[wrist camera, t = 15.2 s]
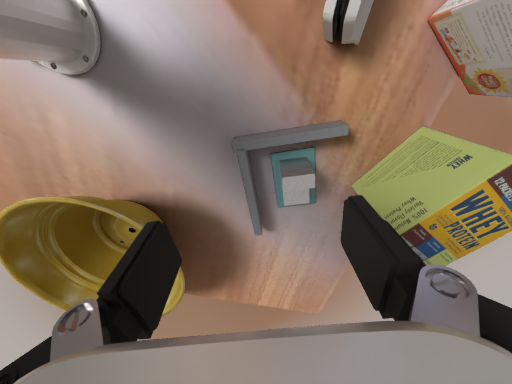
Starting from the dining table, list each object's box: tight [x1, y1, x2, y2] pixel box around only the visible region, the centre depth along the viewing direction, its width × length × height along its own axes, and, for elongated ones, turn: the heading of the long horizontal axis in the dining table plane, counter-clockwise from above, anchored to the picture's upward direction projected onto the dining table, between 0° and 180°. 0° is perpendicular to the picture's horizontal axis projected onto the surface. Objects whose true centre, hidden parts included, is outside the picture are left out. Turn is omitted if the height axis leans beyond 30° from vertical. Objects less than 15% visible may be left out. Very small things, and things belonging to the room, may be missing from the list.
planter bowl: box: [0, 196, 185, 316], centre depth 42 cm, size 32×32×13 cm
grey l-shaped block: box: [279, 157, 315, 206], centre depth 37 cm, size 9×5×8 cm, turn 9°
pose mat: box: [271, 147, 316, 207], centre depth 40 cm, size 8×12×1 cm, turn 10°
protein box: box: [351, 126, 512, 266], centre depth 32 cm, size 10×15×16 cm
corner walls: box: [232, 120, 349, 236], centre depth 39 cm, size 18×20×4 cm
